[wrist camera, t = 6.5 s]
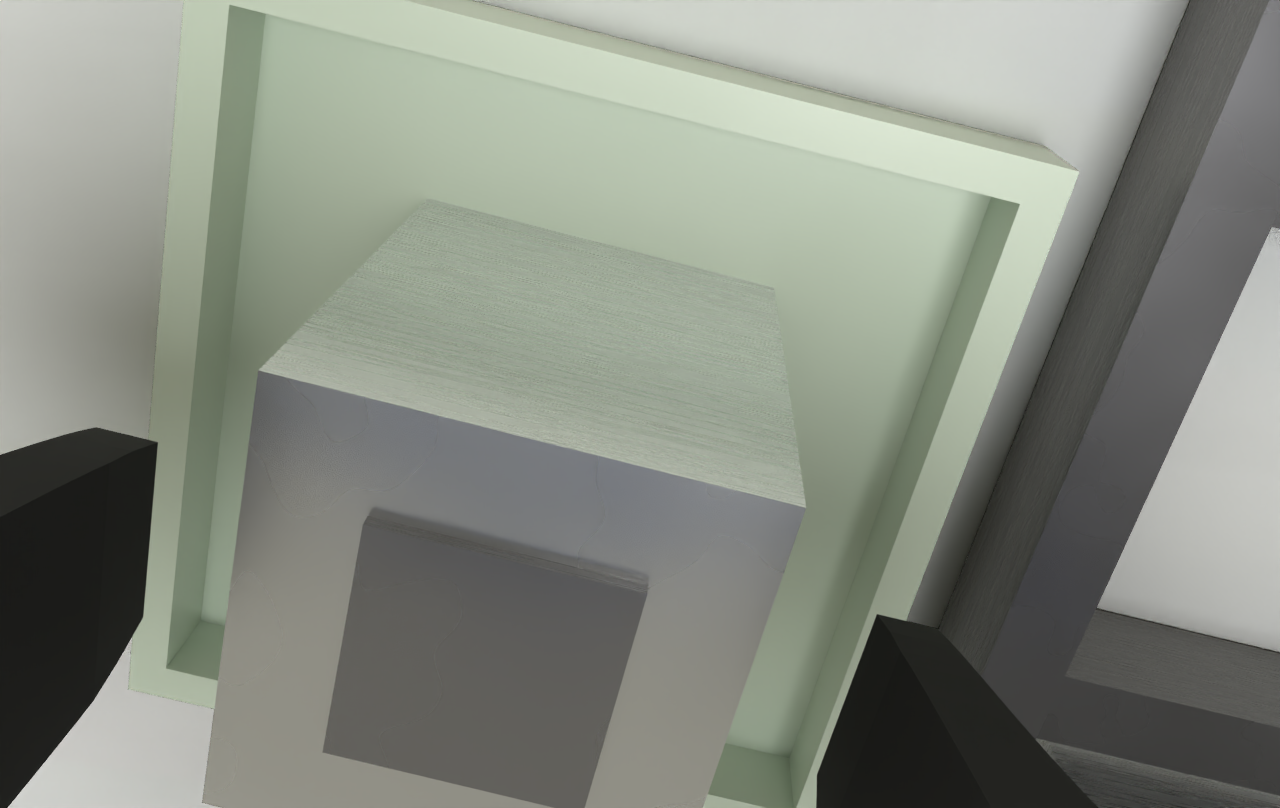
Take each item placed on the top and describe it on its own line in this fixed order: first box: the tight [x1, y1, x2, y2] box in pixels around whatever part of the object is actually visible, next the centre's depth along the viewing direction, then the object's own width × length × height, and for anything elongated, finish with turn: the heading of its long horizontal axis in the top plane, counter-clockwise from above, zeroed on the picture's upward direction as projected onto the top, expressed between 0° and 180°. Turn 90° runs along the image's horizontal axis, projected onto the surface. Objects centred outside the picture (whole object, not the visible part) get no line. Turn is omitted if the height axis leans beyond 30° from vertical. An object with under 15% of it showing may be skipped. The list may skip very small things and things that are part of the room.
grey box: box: [202, 199, 806, 808], centre depth 13 cm, size 4×4×6 cm
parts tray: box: [128, 0, 1080, 808], centre depth 16 cm, size 10×10×2 cm
